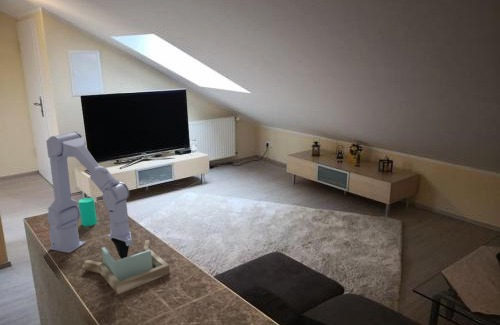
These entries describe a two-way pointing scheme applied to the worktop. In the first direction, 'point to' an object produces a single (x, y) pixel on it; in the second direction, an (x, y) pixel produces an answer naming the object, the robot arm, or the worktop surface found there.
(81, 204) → the candle
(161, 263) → the pocket
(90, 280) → the worktop surface
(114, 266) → the l-shaped corner panel
